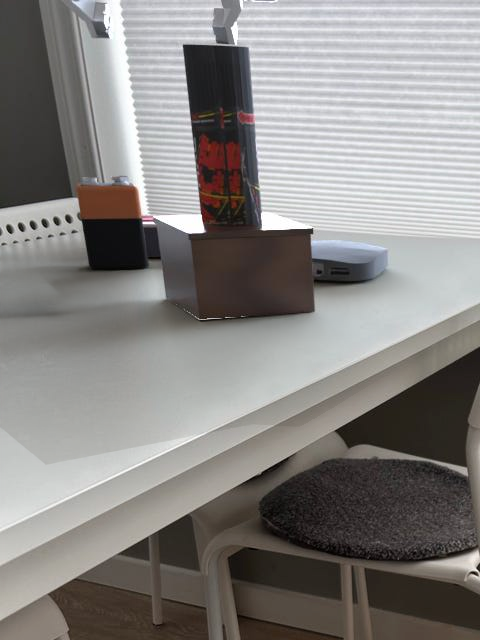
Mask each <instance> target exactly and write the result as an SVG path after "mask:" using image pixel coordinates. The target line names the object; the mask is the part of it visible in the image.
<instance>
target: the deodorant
mask: <svg viewBox="0 0 480 640" xmlns="http://www.w3.org/2000/svg"><path fill="white" fill-rule="evenodd" d="M182 51H183V61H184V70H185V79H186V81H185V82H186V89H187V99H188V107H189V117H190V125H191V126H190V127H191V135H192V144H193V145H192V146H193V154H194V162H195V163H194V164H195V173H196V180H197V181H196V183H197V190H198V200H199V201H198V202H199V208H200V214H201V219H202V223H204V224H209V225H218V226H249V225H257V224H261V223H262V213H263V212H262V210H263V209H262V199H261V198H262V197H261V186H260V172H259V159H258V148H257V134H256V121H255V110H254V109H255V107H254V95H253V84H252V82H253V81H252V70H251V59H250V47H249V46H238V45H222V44H218V45H217V44H194V43H193V44H191V43H190V44H189V43H185V44H182Z"/></svg>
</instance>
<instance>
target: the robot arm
mask: <svg viewBox="0 0 480 640" xmlns="http://www.w3.org/2000/svg"><path fill="white" fill-rule="evenodd" d="M243 1H244V2H261V3H274V2H277V1H278V0H220V2H221V7H214V8H213V15H212V16H213V19H212V32H213V35H214V36H215V43H216V45H217V44H218V45H231V46H237V40H238V25H237V20H238V19H239V17H240V15H241V12H242V10H243ZM60 2H61V3H63V4H64V5H65V6H66V7H67V8H68V9H69V10H70V11H72V12H73V14H75V15H76V16H77V17H78V18H80V20H82V21H84V23H85V25H86V28H87V30H88V32H89V36H90V37H91V38H92V39H101V40H102V39H105V40H106V39H107V40H112V39H113V36H114V35H113V33H112V32H113V31H114V19H113V17H112V15H111V14H110V7H109V5H108V3H107V2H100V1H96V0H60Z"/></svg>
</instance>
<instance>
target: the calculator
mask: <svg viewBox="0 0 480 640" xmlns="http://www.w3.org/2000/svg"><path fill="white" fill-rule="evenodd" d="M190 215H201V213H198V214H197V213H195V214H194V213H192V214H191V213H182V214H175V215H174V216H190ZM160 216H172V215H171V214H142V221H143V228H144V235H145V242H146V250H147V257H148V258H161V255H160V247H159V240H158V232H157V224H155V223H154V221H153V217H160Z"/></svg>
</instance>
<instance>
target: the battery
mask: <svg viewBox="0 0 480 640" xmlns="http://www.w3.org/2000/svg"><path fill="white" fill-rule="evenodd" d="M110 179H111V181H113V182H98V180H97V177H96V176H83V177H82V182H79V183H77V184H76V186H75V189H76V195H77V201H78V205H79V206H78V207H79V214H80V219H81V227H82V231H83V237H84V243H85V248H86V254H87V255H86V256H87V259H88V260H87V261H88V266H89V268H90V269H91V270H93V271H101V270H103V271H104V270H135V269H136V270H137V269H139V270H141V269H147V268H148V267H149V257H147V250H146V242H145V235H144V228H143V221H142V215H143V214H142V207H141V199H140V193H139V189H138V186H137V185H136V184H135V183H133V182H128V181H130V177H129V175H111V176H110Z"/></svg>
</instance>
